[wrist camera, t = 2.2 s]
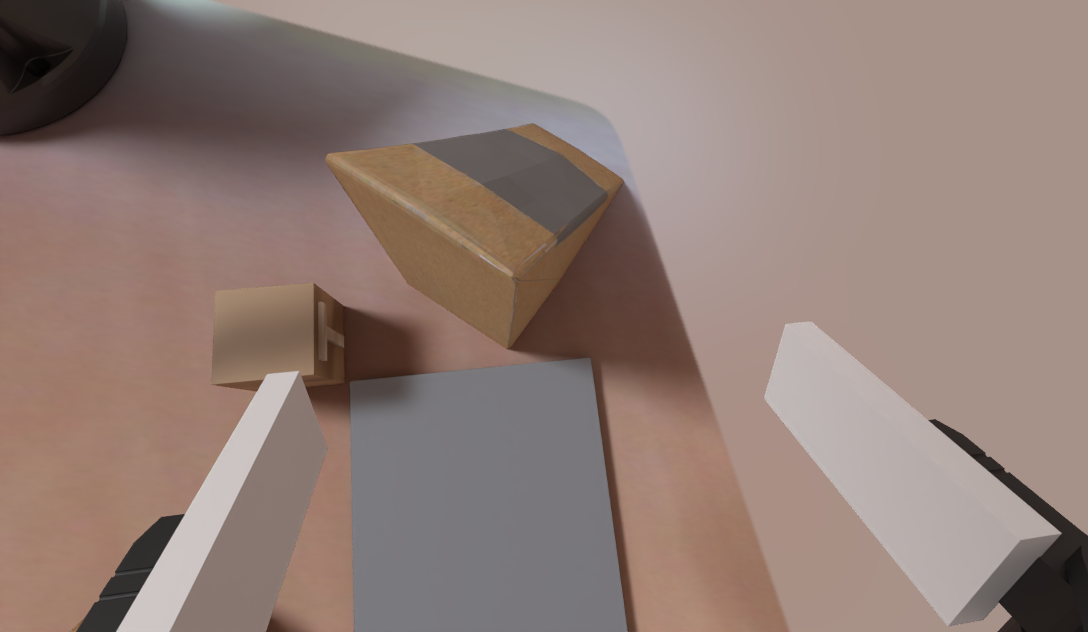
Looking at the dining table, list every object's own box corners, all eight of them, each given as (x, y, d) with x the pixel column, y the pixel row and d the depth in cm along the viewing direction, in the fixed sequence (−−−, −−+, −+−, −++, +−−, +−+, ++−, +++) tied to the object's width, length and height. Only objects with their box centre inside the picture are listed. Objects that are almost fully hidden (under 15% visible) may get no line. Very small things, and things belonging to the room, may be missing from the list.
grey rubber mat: (352, 382, 29) (349, 381, 29) (588, 358, 31) (590, 357, 30) (360, 762, 25) (356, 770, 24) (636, 711, 26) (639, 717, 26)
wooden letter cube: (262, 313, 30) (215, 290, 25) (346, 305, 30) (317, 282, 26) (260, 391, 29) (211, 384, 24) (348, 382, 29) (317, 373, 24)
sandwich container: (628, 181, 34) (721, -1, 20) (512, 353, 31) (520, 284, 16) (531, 120, 35) (551, -101, 20) (404, 282, 31) (318, 153, 17)
